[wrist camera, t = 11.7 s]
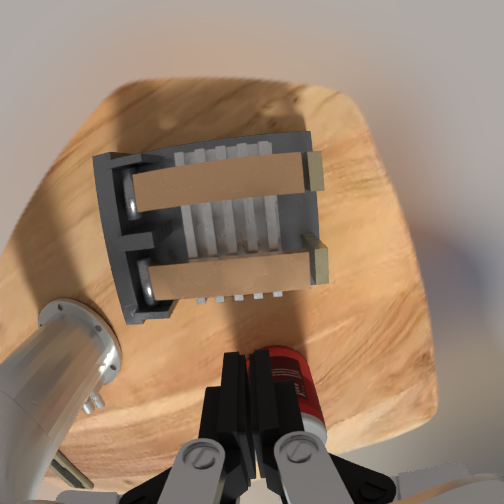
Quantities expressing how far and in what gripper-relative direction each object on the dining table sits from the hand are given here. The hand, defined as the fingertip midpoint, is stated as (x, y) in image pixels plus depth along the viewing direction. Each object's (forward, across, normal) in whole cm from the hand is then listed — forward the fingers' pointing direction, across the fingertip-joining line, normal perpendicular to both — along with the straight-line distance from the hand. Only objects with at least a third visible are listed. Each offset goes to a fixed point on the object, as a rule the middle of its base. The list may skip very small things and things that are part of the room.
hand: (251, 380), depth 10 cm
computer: (+20, +46, +44) cm, 67 cm away
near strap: (+12, +2, -7) cm, 14 cm away
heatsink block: (+18, +2, -4) cm, 19 cm away
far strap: (+12, +2, 0) cm, 13 cm away
